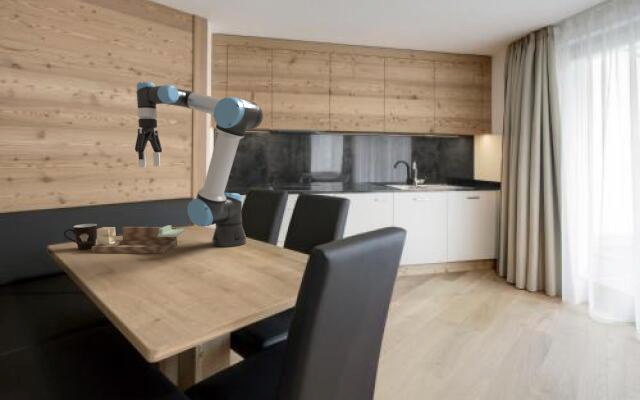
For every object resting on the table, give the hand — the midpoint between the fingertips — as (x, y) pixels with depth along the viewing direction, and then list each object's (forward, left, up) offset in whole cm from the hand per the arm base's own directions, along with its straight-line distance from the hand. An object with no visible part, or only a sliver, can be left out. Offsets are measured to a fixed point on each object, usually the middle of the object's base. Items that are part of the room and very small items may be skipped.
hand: (150, 166), depth 174 cm
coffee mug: (+26, +12, -35) cm, 45 cm away
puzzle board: (+2, +12, -35) cm, 37 cm away
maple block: (+14, +13, -32) cm, 37 cm away
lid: (-14, +12, -28) cm, 34 cm away
